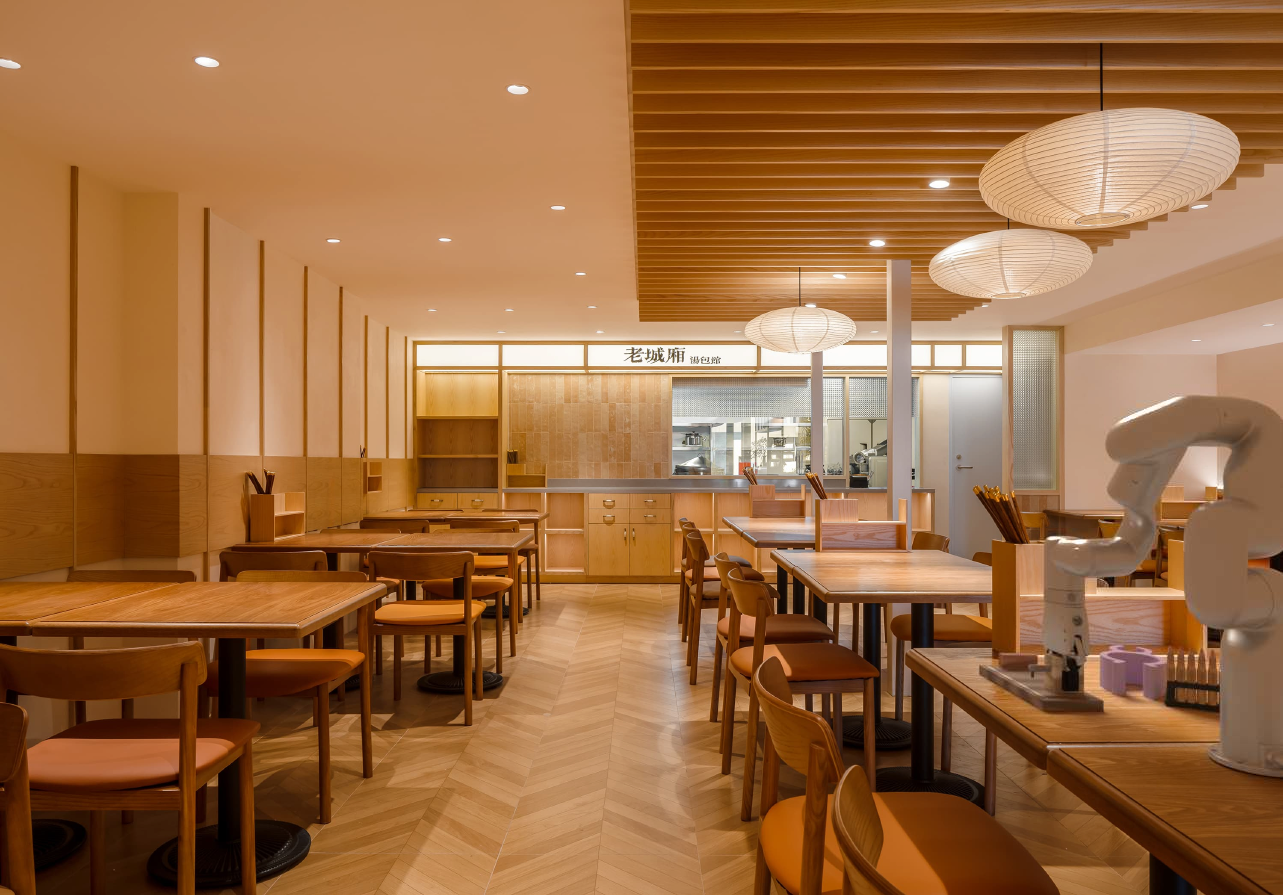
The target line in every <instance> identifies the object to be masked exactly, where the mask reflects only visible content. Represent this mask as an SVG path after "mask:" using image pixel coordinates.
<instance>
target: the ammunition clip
mask: <svg viewBox="0 0 1283 895" xmlns="http://www.w3.org/2000/svg"><path fill="white" fill-rule="evenodd" d="M1174 654H1175V653H1174V649H1173V647H1172V645H1169V646H1168V649H1167V655H1166V660H1167V664H1166V684H1165V696H1164V705H1165V706H1166V707H1169V708H1170V707H1171V708H1177V709H1186V710H1193V711H1194V710H1195V711H1204V712H1211V713H1219V714H1220V666H1219V669H1217V668H1218V666H1217V657H1216V653H1215V650H1214V649H1211V650H1210V653H1209V657H1208V658H1209V659H1208V669H1207V667H1206V666H1207V664H1206V654H1205V651H1204V649H1203V648H1202V647H1201V648H1200V649H1199V652H1198V658H1197V659H1198V660H1197V668H1196V661H1195V660H1196V658H1195V652H1194V649H1193V647H1190V648H1189V650H1188V654H1187V665H1185V664H1186V663H1185V662H1186V661H1185V653H1184V648H1183V647H1182V646H1179V647H1178V650H1177V659H1176V665H1175V655H1174Z"/></svg>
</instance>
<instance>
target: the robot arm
mask: <svg viewBox="0 0 1283 895" xmlns="http://www.w3.org/2000/svg"><path fill="white" fill-rule="evenodd" d="M1104 443H1105V451H1106V453H1107V454H1108V457H1109V458H1110V459H1111V460H1112V461H1114V462H1115V463H1117V464H1118V465H1117V468H1116V469H1115V471H1114V473H1113V475H1112V477H1110V481H1109V482H1108V483H1107V486H1106V492H1107V495H1108V496H1109V497H1110V498H1111V499H1112V500H1113V501H1114V502H1116V503H1117V504H1118V505H1120V506H1122V507H1123V513H1124V514H1123V518H1122V521H1121V523H1120V525H1119V527H1118V529H1117V531H1116V533H1115V534H1114V536H1113V537H1108V538H1107V537H1106V538H1105V537H1104V538H1085V539H1083V538H1079V537H1076V536H1067V535H1052V536H1048V537H1046V539H1044V542H1043V604H1044V607H1043V615H1042V636H1041V637H1042V645H1043V647H1044V650H1045V652H1046V654H1061V655H1063V663H1064V670H1065V671H1062V690H1063V691H1079V672H1080V670H1081V668H1080V667H1081V666H1082V664H1084V665H1085V663H1086V662H1087V657H1089V656H1090V653H1091V651H1090V650H1091V648H1090V647H1091V644H1090V642H1091V640H1090V627H1089V618H1088V613H1087V608H1086V579H1097V578H1113V577H1124V576H1129V575H1131V574H1133V573H1134V572H1135V571H1136V570H1138V569H1139V567H1140V566H1141V565H1142V563H1143V562H1144V561H1145V559H1146V557H1147V556H1148V554H1149V552H1150V550H1151V549H1152V548H1153V545H1154V543H1155V540H1156V537H1157V533H1158V532H1157V530H1158V529H1157V528H1158V525H1157V524H1158V521H1157V519H1158V518H1157V513H1156V509H1155V508H1156V506H1157V503H1158V502H1159V500H1160V498H1161V497H1162V495H1163V493H1164V491H1165V490H1166V488H1167V486H1168V484H1169V483H1170V481H1171V479H1172V477H1173V476H1174V474H1175V472H1176V471H1177V468H1178V467H1179V465H1180V463H1181V462H1182V460H1183V458H1184V456H1185V454H1186V452H1187V450H1188V448H1189V447H1205V448H1206V447H1209V448H1210V447H1213V448H1214V447H1215V448H1217V447H1221V448H1222V447H1223V448H1227V449H1229V450H1230V454H1229V456H1228V459H1227V460H1226V463H1225V465H1224V468H1223V472H1222V473H1223V474H1222V483H1223V484H1222V486H1223V490H1222V491H1223V492H1222V499H1216V500H1214V499H1213V500H1210V501H1206V502H1204V503H1202V504H1200V505H1197V507H1195V508H1194V509H1193V510H1192V512H1191V513H1190V514H1189V516H1188V518H1187V520H1186V523H1185V525H1184V530H1183V592H1184V599H1185V603H1186V607H1187V609H1188V610H1189V612H1190V614H1191V616H1193V618H1194V619H1195V620H1196V621H1197V622H1198V623H1200V624H1202V625H1203V626H1205V627H1207V628H1211V629H1215V630H1223V632H1222V637H1221V641H1220V648H1219V667H1220V713H1219V743H1216V744H1212V745H1210V746H1209V747H1208V748H1207V749H1208V757H1210V759H1212V760H1213V761H1214V762H1216V763H1218V764H1221V765H1222V766H1226V767H1228V768H1231V769H1234V770H1237V771H1240V772H1245V773H1248V774H1254V775H1257V776H1259V775H1260V776H1265V777H1272V778H1273V777H1274V778H1283V572H1281V571H1278V570H1277V569H1274V568H1270V567H1266V566H1258V565H1257V566H1256V565H1255V566H1253V565H1251V566H1250V565H1249V564H1248V563H1249V560H1252V559H1253V560H1254V559H1255V560H1257V559H1264V558H1271V557H1273V556H1276V555H1278V554H1280V553H1282V552H1283V418H1282V417H1281V415H1280V414H1278V412H1276V411H1275V410H1274V409H1272V408H1271V407H1269V406H1268V405H1265V404H1263V403H1261V402H1258V401H1255V400H1252V399H1248V398H1242V397H1235V396H1223V395H1222V396H1220V395H1218V396H1217V395H1216V396H1215V395H1212V396H1211V395H1200V394H1199V395H1196V394H1191V395H1189V394H1188V395H1181V396H1177V397H1173V398H1171V399H1168V400H1166V401H1163V402H1160V403H1158V404H1156V405H1153V406H1151V407H1148V408H1145V409H1143V410H1140V411H1138V412H1136V413H1133V414H1131V415H1129V416H1128V415H1127V416H1126V417H1124V418H1122V419H1121V420H1119V421H1117V422H1115V424H1113V425H1112V427H1111V428H1110V429H1109V432H1108V433H1107V434H1106V438H1105V442H1104ZM1248 565H1249V566H1248ZM1072 653H1073V654H1074V655H1070V654H1072ZM1069 658H1074V660H1071V661H1070V663H1069Z"/></svg>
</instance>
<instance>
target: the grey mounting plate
mask: <svg viewBox="0 0 1283 895" xmlns="http://www.w3.org/2000/svg"><path fill="white" fill-rule="evenodd" d="M1038 660H1039V656H1038V654H1036V653H1034V652H1031V653H1030V652H1029V653H1028V652H1022V653H1021V652H998V664H979V665H978V666H979V668H978V669H979V671H978V673H979V675H981V676H982V677H984V678H986V679H988V681H990V682H992V683H995V684H996V685H998V686H1000V687H1001V688H1003V689H1004V690H1006V691H1008V692H1010V693H1011V694H1013V695H1014V696H1017V697H1019V698H1020V699H1021V700H1023V701H1025V702H1027V703H1029V704H1030V705H1032V706H1034V707H1036V708H1037V709H1038V710H1041V711H1042V712H1054V711H1055V712H1104V710H1105V708H1104V704H1105V701H1104V700H1103V699H1100V698H1099V697H1097V696H1094V695H1092V694H1090V693H1089V692H1086V691H1085V690H1084V693H1053V692H1051V691H1050V690H1048V689H1046V688H1044V672H1034V678H1031V672H1030V671H1029V669H1028V666H1029V664H1034V665H1039V663H1038V662H1039V661H1038Z"/></svg>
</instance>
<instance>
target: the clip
mask: <svg viewBox="0 0 1283 895" xmlns="http://www.w3.org/2000/svg"><path fill="white" fill-rule="evenodd" d="M1135 650H1136V651H1128V650H1125V645H1121V644H1120V645H1119V644H1118V645H1111V646H1109V650H1107V651H1106V650H1105V651H1102V652H1099V686H1100V687H1101V688H1102V689H1103V690H1105V691H1109V692H1112V695H1115V696H1123V695H1125V694H1126V684H1130V685H1137V686H1142V696H1143V697H1144V698H1146V699H1149V700H1153V701H1157V700H1158V698H1162V697H1165V684H1166V664H1167V659H1165V658H1163V657H1161V656H1159V655H1158V656H1157V655H1155V654H1153V650H1151V649H1148V648H1145V647H1139V646H1137V647H1136V648H1135Z"/></svg>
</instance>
